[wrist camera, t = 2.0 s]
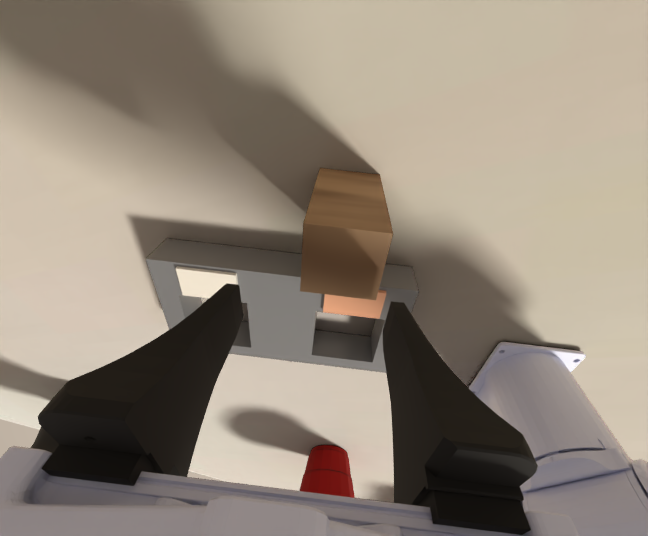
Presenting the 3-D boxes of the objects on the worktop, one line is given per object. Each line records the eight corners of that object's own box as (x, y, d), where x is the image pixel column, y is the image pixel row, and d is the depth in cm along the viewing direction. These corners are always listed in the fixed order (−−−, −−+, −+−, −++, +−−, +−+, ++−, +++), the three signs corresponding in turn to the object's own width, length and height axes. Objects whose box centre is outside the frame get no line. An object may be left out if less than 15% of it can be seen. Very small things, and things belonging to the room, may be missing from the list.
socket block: (385, 346, 29) (389, 376, 27) (189, 323, 30) (173, 349, 27) (412, 266, 23) (419, 293, 21) (166, 238, 24) (143, 261, 21)
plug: (369, 227, 22) (375, 300, 15) (315, 221, 22) (300, 291, 15) (379, 174, 19) (393, 233, 13) (319, 167, 19) (303, 223, 13)
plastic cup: (359, 471, 48) (360, 576, 38) (294, 462, 48) (279, 565, 38) (373, 442, 41) (379, 559, 32) (297, 432, 41) (280, 546, 32)
